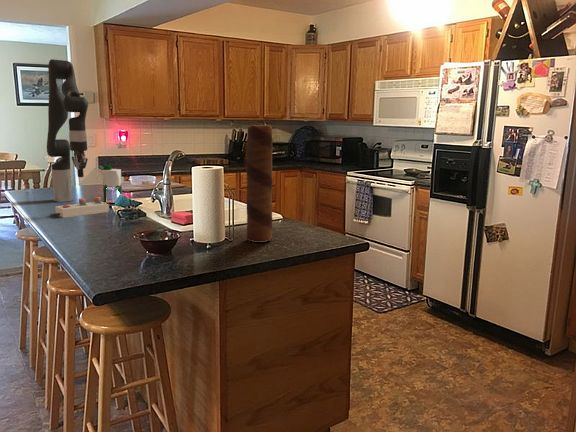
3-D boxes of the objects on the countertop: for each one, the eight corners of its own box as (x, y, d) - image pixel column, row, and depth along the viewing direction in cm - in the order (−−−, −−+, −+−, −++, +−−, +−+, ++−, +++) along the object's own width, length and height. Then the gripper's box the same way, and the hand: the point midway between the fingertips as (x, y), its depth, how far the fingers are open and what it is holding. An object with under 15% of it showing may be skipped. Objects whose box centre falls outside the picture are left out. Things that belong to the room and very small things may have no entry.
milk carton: (108, 200, 265) (106, 164, 261) (124, 201, 265) (122, 165, 261) (101, 203, 257) (99, 166, 253) (118, 204, 257) (116, 166, 252)
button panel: (47, 215, 224) (46, 206, 223) (101, 209, 243) (100, 200, 242) (54, 219, 218) (53, 209, 217) (109, 211, 236) (108, 202, 235)
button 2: (78, 204, 231) (77, 198, 230) (84, 203, 233) (83, 198, 232) (80, 205, 229) (80, 199, 228) (86, 204, 231) (86, 199, 230)
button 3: (93, 202, 236) (93, 197, 236) (99, 201, 238) (99, 196, 238) (96, 203, 234) (95, 198, 234) (102, 202, 236) (101, 197, 236)
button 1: (62, 210, 226) (61, 204, 225) (68, 209, 228) (68, 204, 228) (64, 211, 224) (64, 205, 223) (71, 210, 226) (71, 205, 226)
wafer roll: (248, 244, 182) (249, 124, 173) (243, 238, 192) (244, 124, 183) (275, 243, 185) (277, 125, 176) (269, 236, 195) (270, 124, 186)
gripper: (64, 139, 227) (67, 176, 230) (75, 141, 217) (78, 179, 221) (80, 139, 232) (82, 175, 235) (92, 140, 223) (94, 177, 226)
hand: (80, 177), depth 228 cm, fingers closed
